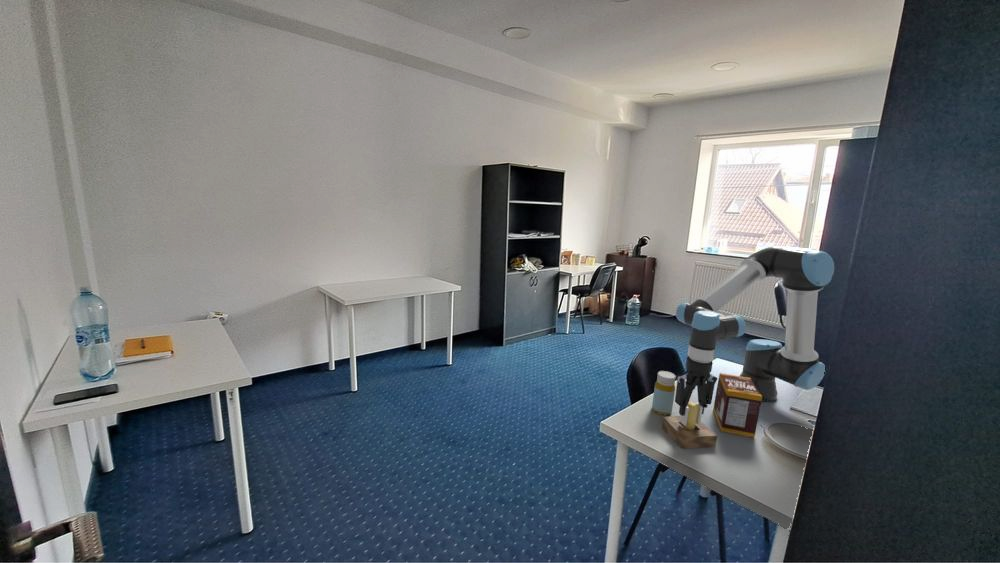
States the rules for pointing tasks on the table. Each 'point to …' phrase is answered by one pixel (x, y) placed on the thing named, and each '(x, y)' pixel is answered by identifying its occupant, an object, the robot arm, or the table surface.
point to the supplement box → (737, 405)
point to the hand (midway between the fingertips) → (689, 422)
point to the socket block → (689, 433)
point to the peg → (691, 416)
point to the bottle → (664, 393)
